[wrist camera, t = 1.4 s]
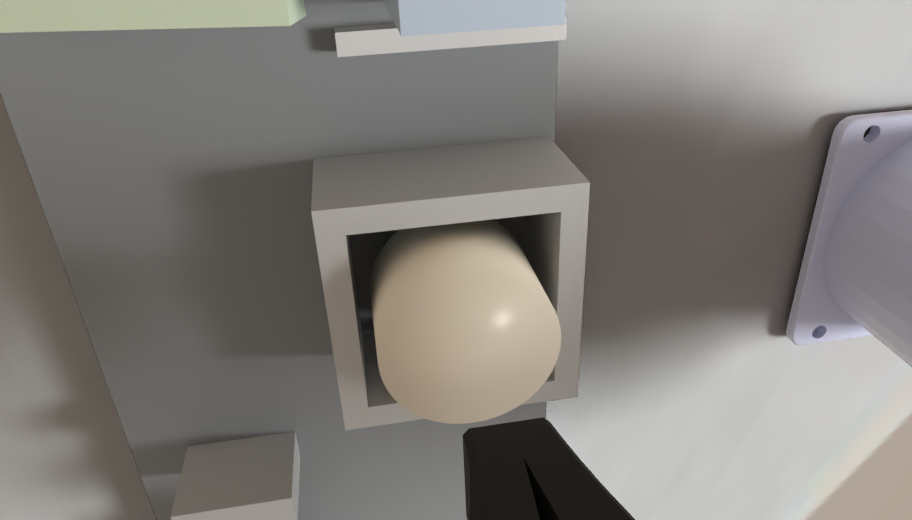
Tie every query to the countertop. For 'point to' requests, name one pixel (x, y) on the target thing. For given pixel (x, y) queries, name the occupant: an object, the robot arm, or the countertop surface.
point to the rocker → (145, 14)
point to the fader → (472, 15)
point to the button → (461, 322)
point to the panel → (287, 239)
